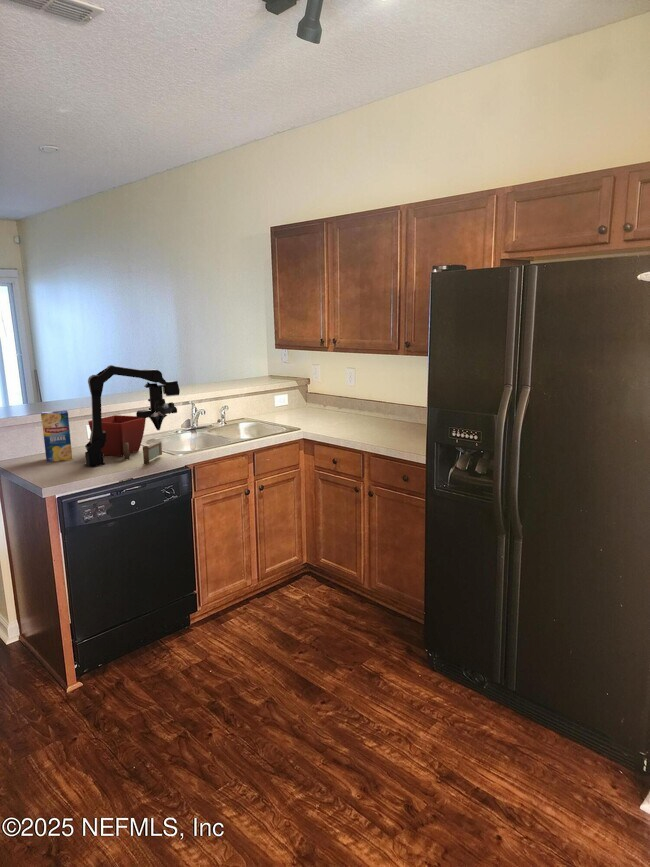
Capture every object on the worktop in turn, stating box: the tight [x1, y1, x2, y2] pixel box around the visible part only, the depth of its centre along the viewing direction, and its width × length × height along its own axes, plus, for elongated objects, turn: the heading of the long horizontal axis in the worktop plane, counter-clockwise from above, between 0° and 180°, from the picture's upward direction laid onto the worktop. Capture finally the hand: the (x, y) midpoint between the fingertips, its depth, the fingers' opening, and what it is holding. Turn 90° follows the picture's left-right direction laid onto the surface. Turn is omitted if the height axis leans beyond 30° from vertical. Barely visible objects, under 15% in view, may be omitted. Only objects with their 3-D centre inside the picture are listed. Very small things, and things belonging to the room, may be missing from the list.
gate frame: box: [123, 443, 150, 466], centre depth 258 cm, size 2×17×8 cm, turn 52°
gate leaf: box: [147, 441, 163, 461], centre depth 260 cm, size 2×12×6 cm, turn 169°
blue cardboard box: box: [40, 410, 73, 463], centre depth 261 cm, size 7×11×22 cm, turn 117°
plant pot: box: [88, 414, 147, 457], centre depth 273 cm, size 19×19×17 cm
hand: (158, 430), depth 263 cm, fingers closed
